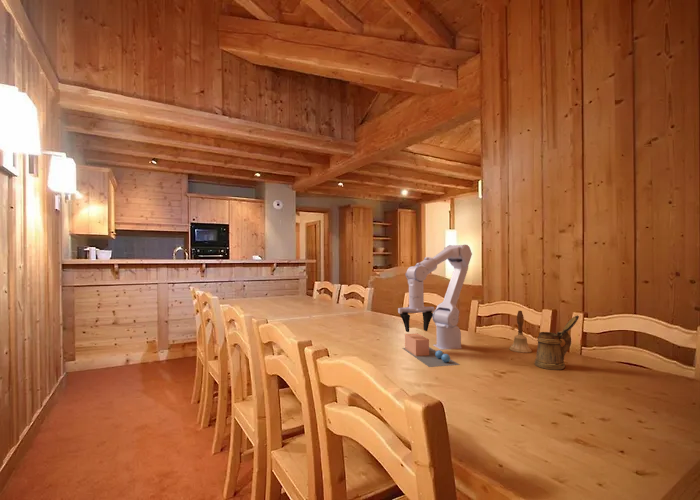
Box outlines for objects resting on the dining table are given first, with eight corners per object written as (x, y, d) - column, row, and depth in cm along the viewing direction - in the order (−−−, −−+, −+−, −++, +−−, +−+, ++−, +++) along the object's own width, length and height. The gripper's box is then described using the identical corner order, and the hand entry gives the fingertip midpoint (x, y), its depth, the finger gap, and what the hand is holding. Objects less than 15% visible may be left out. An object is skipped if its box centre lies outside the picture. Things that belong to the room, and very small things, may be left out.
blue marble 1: (441, 357, 131) (441, 349, 132) (445, 359, 129) (445, 351, 129) (433, 357, 131) (433, 349, 131) (437, 360, 128) (437, 351, 128)
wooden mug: (582, 373, 115) (581, 317, 115) (536, 368, 120) (535, 315, 120) (577, 365, 123) (576, 313, 123) (533, 361, 128) (532, 311, 128)
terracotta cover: (417, 348, 145) (417, 333, 145) (429, 355, 134) (429, 339, 134) (405, 348, 144) (405, 334, 144) (415, 356, 133) (415, 340, 133)
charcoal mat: (428, 347, 147) (428, 346, 147) (460, 366, 122) (460, 364, 122) (402, 349, 145) (402, 348, 145) (429, 368, 120) (429, 366, 120)
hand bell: (536, 352, 139) (535, 312, 140) (514, 352, 139) (514, 312, 140) (525, 347, 147) (525, 309, 148) (505, 347, 148) (505, 309, 148)
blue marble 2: (447, 360, 127) (447, 352, 127) (451, 363, 124) (451, 354, 124) (439, 361, 126) (439, 352, 126) (443, 363, 123) (443, 355, 123)
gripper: (402, 298, 134) (402, 334, 134) (437, 297, 137) (438, 332, 137) (396, 296, 141) (396, 330, 141) (429, 295, 144) (430, 328, 144)
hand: (416, 331), depth 139 cm, fingers open, 7 cm apart
